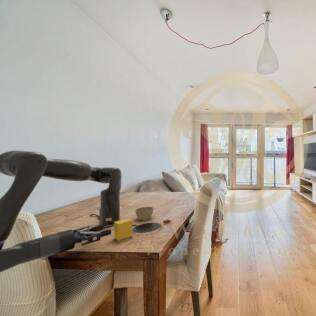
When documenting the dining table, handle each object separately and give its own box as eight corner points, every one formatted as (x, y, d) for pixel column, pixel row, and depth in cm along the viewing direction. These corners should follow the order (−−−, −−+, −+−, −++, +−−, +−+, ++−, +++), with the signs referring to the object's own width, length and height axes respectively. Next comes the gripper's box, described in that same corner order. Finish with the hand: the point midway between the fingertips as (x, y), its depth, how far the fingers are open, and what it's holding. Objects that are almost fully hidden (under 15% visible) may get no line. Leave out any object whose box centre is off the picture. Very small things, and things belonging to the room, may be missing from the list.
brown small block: (163, 224, 106) (163, 220, 106) (167, 222, 108) (167, 219, 108) (165, 225, 104) (166, 221, 104) (170, 223, 106) (170, 220, 106)
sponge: (114, 240, 85) (114, 222, 85) (128, 236, 90) (127, 218, 89) (118, 243, 82) (118, 224, 82) (132, 238, 87) (132, 220, 87)
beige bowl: (146, 223, 106) (146, 211, 106) (131, 222, 108) (131, 210, 108) (156, 218, 116) (156, 207, 116) (143, 217, 118) (143, 206, 118)
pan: (115, 231, 95) (115, 228, 95) (137, 222, 108) (137, 219, 108) (148, 236, 89) (148, 233, 89) (166, 226, 103) (166, 223, 103)
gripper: (60, 238, 63) (113, 224, 76) (52, 228, 71) (101, 217, 85) (60, 259, 63) (113, 242, 76) (52, 247, 71) (101, 233, 85)
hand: (107, 229), depth 80 cm, fingers open, 8 cm apart
